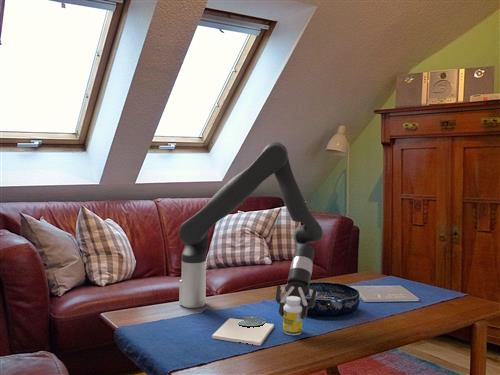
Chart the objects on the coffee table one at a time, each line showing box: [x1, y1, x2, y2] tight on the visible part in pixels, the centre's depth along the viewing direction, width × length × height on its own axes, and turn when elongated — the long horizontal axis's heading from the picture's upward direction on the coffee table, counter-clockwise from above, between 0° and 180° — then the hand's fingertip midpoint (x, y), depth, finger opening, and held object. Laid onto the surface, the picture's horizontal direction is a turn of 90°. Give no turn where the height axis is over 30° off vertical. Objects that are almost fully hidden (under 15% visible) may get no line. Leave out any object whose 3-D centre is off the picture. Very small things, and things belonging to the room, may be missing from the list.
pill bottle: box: [282, 296, 304, 336], centre depth 162 cm, size 6×6×12 cm
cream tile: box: [211, 317, 275, 346], centre depth 161 cm, size 16×16×1 cm
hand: (291, 316), depth 160 cm, fingers closed on pill bottle, 6 cm apart
